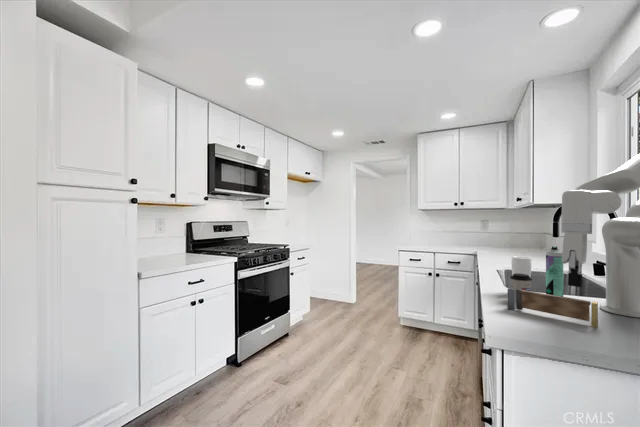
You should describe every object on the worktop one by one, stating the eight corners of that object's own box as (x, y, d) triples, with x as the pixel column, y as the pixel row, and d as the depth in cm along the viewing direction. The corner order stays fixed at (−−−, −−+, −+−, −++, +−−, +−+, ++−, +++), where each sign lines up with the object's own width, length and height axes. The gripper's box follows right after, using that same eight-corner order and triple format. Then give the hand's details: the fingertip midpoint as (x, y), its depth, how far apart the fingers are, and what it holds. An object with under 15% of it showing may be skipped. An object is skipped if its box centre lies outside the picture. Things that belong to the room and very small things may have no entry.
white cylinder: (534, 296, 119) (534, 258, 119) (515, 295, 120) (515, 258, 120) (526, 292, 126) (526, 256, 126) (508, 291, 127) (508, 256, 127)
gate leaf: (515, 309, 102) (515, 289, 102) (517, 307, 103) (517, 288, 103) (589, 324, 88) (589, 302, 88) (590, 323, 89) (590, 300, 89)
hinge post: (509, 307, 105) (509, 287, 105) (515, 309, 104) (515, 288, 104) (507, 308, 104) (507, 288, 104) (514, 310, 102) (514, 289, 102)
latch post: (592, 325, 89) (592, 301, 89) (597, 326, 88) (597, 302, 88) (591, 326, 87) (591, 302, 87) (596, 327, 87) (596, 303, 87)
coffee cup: (505, 299, 115) (505, 273, 115) (519, 297, 117) (519, 272, 117) (522, 304, 108) (522, 277, 108) (536, 303, 110) (536, 276, 110)
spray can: (558, 295, 121) (558, 245, 121) (566, 299, 115) (566, 247, 115) (543, 294, 122) (543, 245, 122) (550, 298, 117) (550, 247, 117)
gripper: (566, 228, 104) (564, 280, 104) (556, 228, 94) (554, 286, 94) (595, 229, 98) (594, 285, 98) (588, 229, 88) (586, 292, 88)
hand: (574, 285), depth 96 cm, fingers closed
